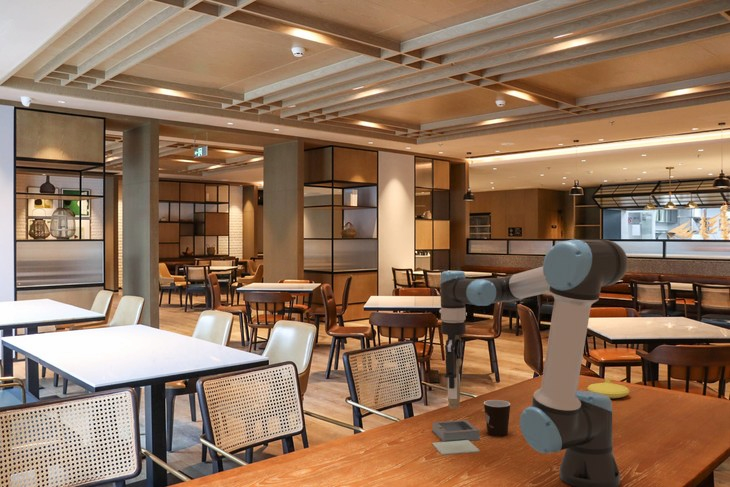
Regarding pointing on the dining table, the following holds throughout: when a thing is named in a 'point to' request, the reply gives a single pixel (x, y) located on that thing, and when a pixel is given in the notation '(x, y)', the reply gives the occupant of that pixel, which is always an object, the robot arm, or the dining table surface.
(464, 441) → the mat
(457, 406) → the handle
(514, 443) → the dining table surface
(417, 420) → the dining table surface
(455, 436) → the silver square frame
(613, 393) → the yellow pattypan squash
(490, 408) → the coffee mug
